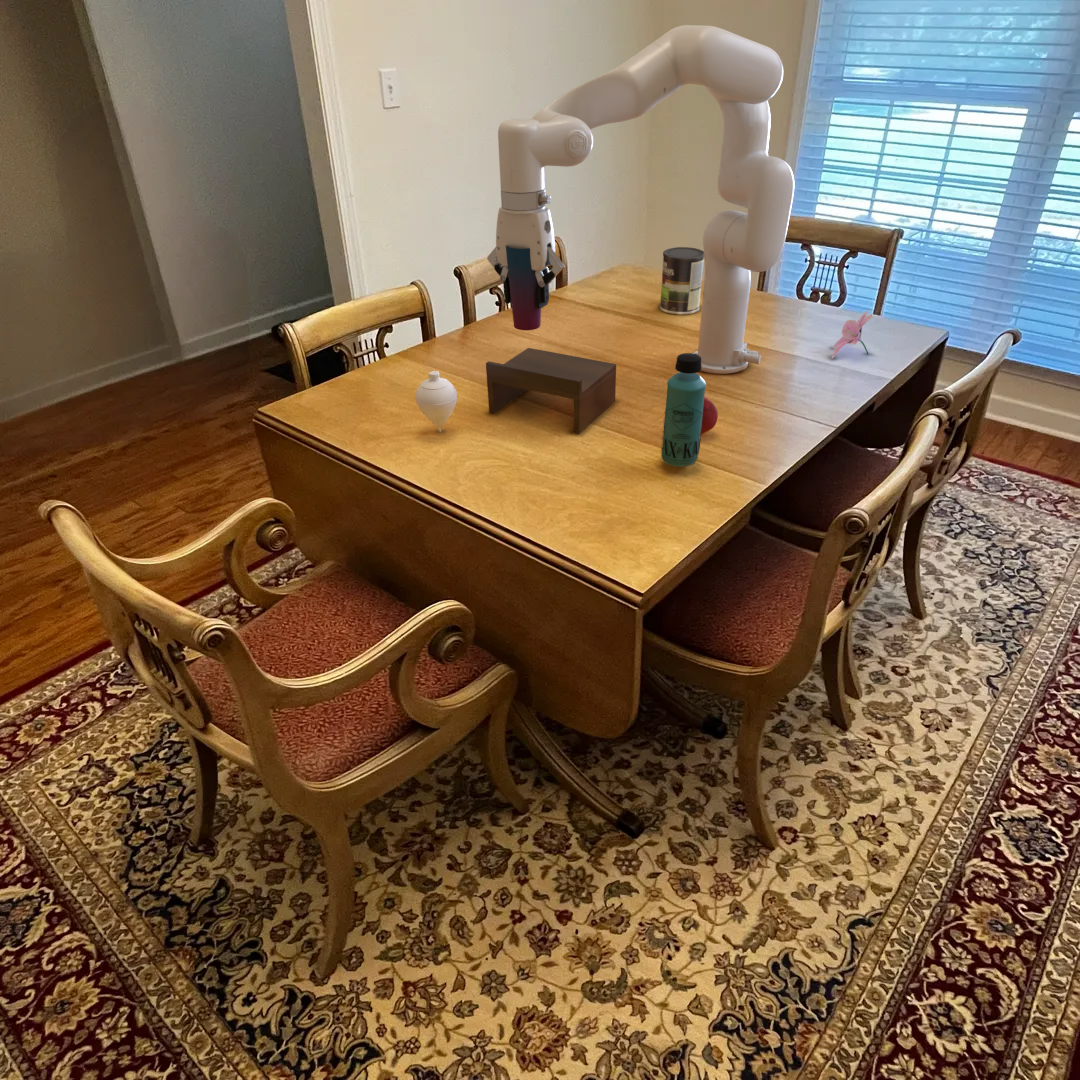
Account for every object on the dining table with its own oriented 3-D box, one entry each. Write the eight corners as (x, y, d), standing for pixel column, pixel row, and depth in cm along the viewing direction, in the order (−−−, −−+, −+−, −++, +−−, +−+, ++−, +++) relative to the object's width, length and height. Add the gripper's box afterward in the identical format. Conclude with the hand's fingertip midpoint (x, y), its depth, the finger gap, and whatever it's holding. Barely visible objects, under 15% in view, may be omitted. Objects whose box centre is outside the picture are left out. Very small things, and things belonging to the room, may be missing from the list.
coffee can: (668, 316, 201) (672, 259, 193) (654, 304, 209) (657, 249, 201) (706, 312, 203) (711, 255, 195) (690, 300, 211) (695, 245, 203)
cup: (541, 333, 146) (539, 249, 138) (505, 331, 147) (501, 248, 139) (548, 320, 152) (546, 239, 143) (513, 319, 153) (510, 238, 144)
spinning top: (443, 444, 147) (437, 384, 140) (411, 435, 150) (403, 375, 143) (468, 428, 152) (463, 369, 145) (436, 419, 155) (430, 361, 148)
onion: (717, 429, 149) (722, 389, 144) (712, 443, 145) (717, 402, 140) (686, 425, 151) (690, 386, 146) (681, 438, 146) (684, 398, 142)
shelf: (529, 383, 168) (527, 335, 162) (615, 401, 160) (616, 351, 154) (489, 413, 157) (485, 362, 151) (579, 434, 149) (579, 381, 143)
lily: (845, 344, 185) (831, 309, 180) (896, 335, 176) (883, 298, 172) (827, 376, 180) (812, 341, 175) (878, 368, 171) (864, 331, 166)
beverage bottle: (656, 458, 140) (663, 349, 129) (693, 455, 141) (704, 347, 129) (664, 476, 135) (672, 365, 124) (702, 474, 135) (714, 362, 124)
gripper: (577, 200, 136) (577, 304, 146) (492, 192, 143) (497, 292, 153) (556, 209, 131) (557, 316, 141) (469, 200, 138) (476, 303, 148)
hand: (526, 303), depth 147 cm, fingers closed on cup, 6 cm apart
